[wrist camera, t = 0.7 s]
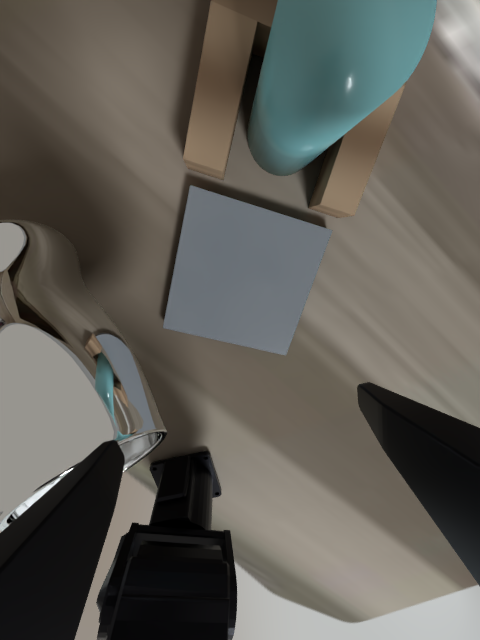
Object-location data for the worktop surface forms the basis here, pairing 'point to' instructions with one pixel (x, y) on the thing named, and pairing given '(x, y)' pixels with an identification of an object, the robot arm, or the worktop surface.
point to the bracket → (225, 98)
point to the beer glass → (60, 371)
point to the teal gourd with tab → (330, 73)
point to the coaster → (242, 272)
